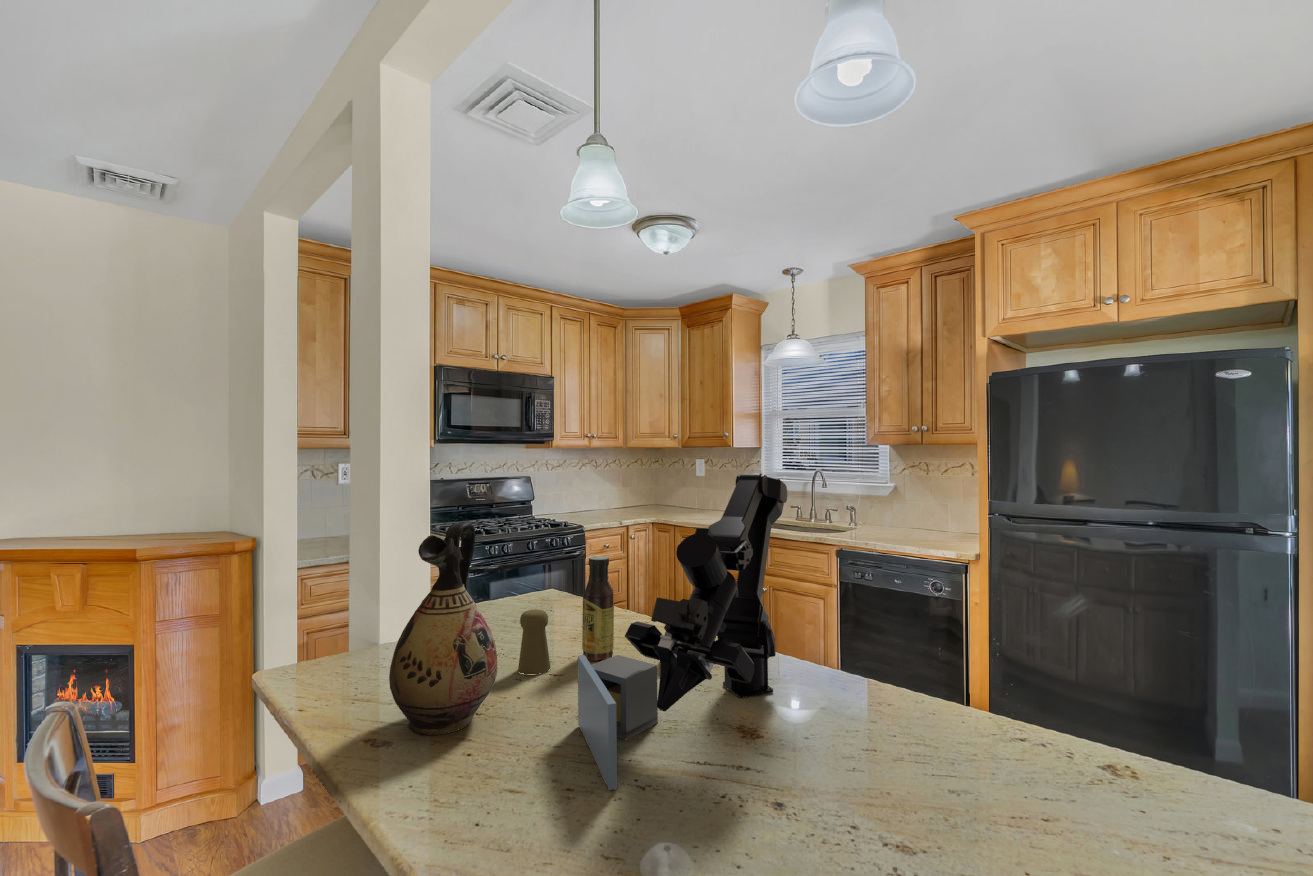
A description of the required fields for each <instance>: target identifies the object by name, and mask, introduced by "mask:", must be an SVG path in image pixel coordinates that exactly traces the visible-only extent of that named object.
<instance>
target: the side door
mask: <svg viewBox="0 0 1313 876" xmlns="http://www.w3.org/2000/svg"><path fill="white" fill-rule="evenodd" d="M591 665H592V664H591V662H590V660H588V659H587V658H586V657H585V655H583V654H582V655H577V701H578V702H577V704H578V705H577V713H578V714H577V716H578V717H577V718H578V719H577V720H578V723H577V724H578V727H579V729H580V730H581V732H582V735H583V737H584V739H585V741H586V743H587V744H586V745H587V746H588V748H589V750H590V753H591V755H592V756H593V758H594V761H595V763H596V766H597V767H598V769H599V771H600V774H601V776H602V778H603V780H604V783H605V784H606V787H607V789H608V791H611V790H615V789H618V765H617V764H618V759H617V758H618V757H617V756H618V753H617V752H618V751H617V750H618V748H617V747H618V746H617V744H618V743H617V741H618V739H617V738H618V737H617V730H616V702H615V701H614V699H613V698H612V696H611V695H610V693H609V692H608V690H607V689H606V687H605V685H604V684H603V682H602V681H601V679H600V678H599V676H598V675H597V673H596V672H595V670H594V669H593V667H592V666H591Z"/></svg>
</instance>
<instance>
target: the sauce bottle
mask: <svg viewBox="0 0 1313 876" xmlns="http://www.w3.org/2000/svg"><path fill="white" fill-rule="evenodd" d="M587 564H588V565H589V568H588V569H589V570H588V571H589V574H588V575H589V576H588V581H587V584H586V587H585V590H584V593H583V596H582V633H581V634H582V637H581V638H582V640H581V641H582V643H581V644H582V645H581V646H582V647H581V648H582V655H585V657H586V658H587V660H588V659H589V660H588V661H591V660H592V661H591V662H600V661H599V660H601V661H603V660H605V659H608V658H611V657H613V654H614V653H613V652H614V649H615V648H614V645H615V644H614V643H615V642H614V641H615V640H614V639H615V637H614V634H615V633H614V631H615V630H614V629H615V628H614V627H615V604H614V597H615V596H614V595H615V594H614V589H613V587H612V586H611V584H610V582H609V565H610V558H609V557H608V556H607V555H606V556H605V555H594V556H590V557H589V558H588V563H587Z"/></svg>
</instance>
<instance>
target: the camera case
mask: <svg viewBox="0 0 1313 876" xmlns="http://www.w3.org/2000/svg"><path fill="white" fill-rule="evenodd" d="M591 666H592V667H593V669H594V670H595V672H596V673H597V675H598V676H599V678H600V679H601V681H602V682H603V684H604V685H605V687H606V689H607V690H608V692H609V693H610V695H611V696H612V698H613V699H614V701H615V702H616V730H617V738H621V739H623V740H625V741H627V740H629V739H631V738H633V737H634V736H636V735H639V734H641V732H644V731H646V730H647V729H649V728H650V727H652V726H654V725H656V724H658V721H659V720H658V719H659V718H658V717H659V716H658V715H659V713H658V711H659V710H658V707H657V702H658V664H655V663H650V662H648V661H647V662H646V661H643V660H638V659H635V658H631V657H629V656H623V655H620V654H616V655H614V656H613V655H612V657H611V658H608V659H605V660H601V661H597V662H595V663H593V664H591Z"/></svg>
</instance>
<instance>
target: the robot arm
mask: <svg viewBox="0 0 1313 876" xmlns="http://www.w3.org/2000/svg"><path fill="white" fill-rule="evenodd" d="M787 487H788V486H787V485H786V483H784V481H782V480H781V479H780V478H772V477H771V476H770V477H769V476H767V475H766V474H762V473H759V472H758V473H755V472H754V473H752V472H751V473H750V472H749V473H748V472H747V473H740V474H737V476H736V479H735V487H734V488H733V492H732V493H731V496H730V497H729V500H728V502H727V505H726V507H725V509H724V512H723V514H722V515H721V518H720V519H719V520H718V521H715V522H714V523H712V524H710V525H709V526H708V527H696V529H695V533H693V534H691V535H688V536H686V537H685V538H684V539H682V541H681V542H680V543H679V544H678V545H677V547H676V551H675V554H676V559H677V560H678V562H679V564H680V566H681V568H682V570H683V572H684V574H685V576H686V578H687V580H688V583H689V584H690V585H692V586H693V589H692V591H691V592H690V593H691V594H690V596H689V598H688V599H686V598H682V599H681V600H680V601H679V600H674V599H669V598H662V597H656V598H655V601H654V602H655V603H654V608H653V611H652V614H651V618H650V619H651V620H650V621H651V622H654V623H657V622H658V623H661V624H663V625H664V627H663V629H664V631H665V632H667V633H670V634H671V635H672V636H671V637H668V636H664V635H665V634H663V633H662V632H661V631H660V630H659V629H658V628H657V626H656V625H654V624H650V623H645V622H640V621H635V622H632V623H630V625H629V626H628V629H627V630H626V632H625V635H624V637H625V639H627V640H628V641H629V643H630V644H631V645H632V646H633V647H634V648H635V650H637V652H639V654H641V655H642V656H643V657H645V658H649V659H653V660H656V661H659V665H660V668H659V669H660V670H659V671H660V673H659V675H660V676H659V683H658V691H657V707H658V709H659V710H658V711H661V712H667V710H669V709H670V708H671V707H672V706H674V705H675V704H676V703H677V702H678V701H680V699H682V698H683V697H684V696H686V695H687V693H689V692H690V691H691V690H692V689H694V688H695V687H697V686H698V685H699V684H701V683H702V682H704V681H705V680H710V681H711V679H712V678H713V675H712V669H713V668H714V666H715V665H717V666H722V667H724V681H722V686H724V688H726V689H727V690H729V691H730V692H731V693H733V695H735V696H737V697H738V698H748V697H754V696H759V695H765V694H770V693H774V688H773V687H771V686H770V685H769V663H768V662H769V659H770V658H772V657H776V654H777V653H776V651H777V650H776V638H775V635H774V632H773V629H772V626H771V624H770V621H769V615H768V612H767V610H766V607H765V606H764V604H763V601H762V599H763V591H764V585H765V577H766V570H767V563H768V561H767V560H768V555H769V546H770V541H771V540H770V538H771V534H772V533H771V532H772V531H771V530H772V526H773V525H774V524H775V522H777V521H778V519H780V517H781V516H782V515H783V511H784V505H785V503H787V500H788V488H787ZM730 571H737V572H738V573H737V578H736V579H735V576H734V575H733V574H732V573H731V572H730ZM716 638H717V639H716ZM678 647H679V648H678Z"/></svg>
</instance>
